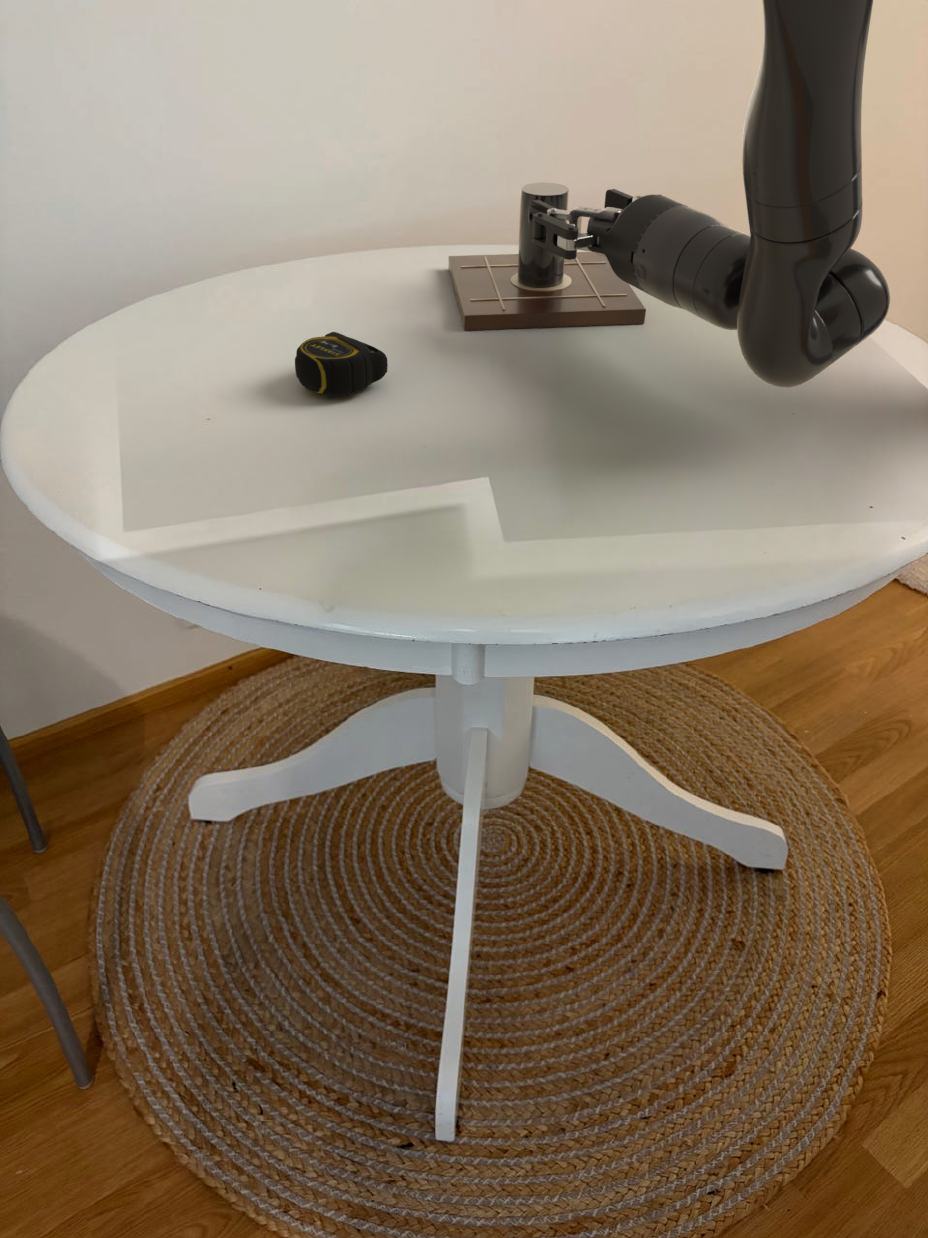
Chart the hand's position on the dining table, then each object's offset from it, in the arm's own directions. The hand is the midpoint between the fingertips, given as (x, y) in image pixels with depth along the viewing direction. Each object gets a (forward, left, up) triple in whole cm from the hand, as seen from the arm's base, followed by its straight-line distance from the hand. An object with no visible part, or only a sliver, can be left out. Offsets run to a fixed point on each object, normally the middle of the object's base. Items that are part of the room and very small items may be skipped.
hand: (570, 205), depth 92 cm
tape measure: (+23, +16, -10) cm, 30 cm away
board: (+2, -4, -10) cm, 11 cm away
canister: (+2, -4, -8) cm, 9 cm away
